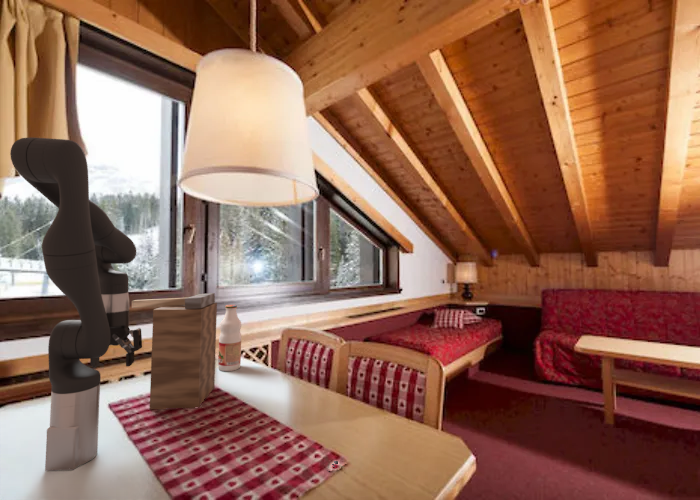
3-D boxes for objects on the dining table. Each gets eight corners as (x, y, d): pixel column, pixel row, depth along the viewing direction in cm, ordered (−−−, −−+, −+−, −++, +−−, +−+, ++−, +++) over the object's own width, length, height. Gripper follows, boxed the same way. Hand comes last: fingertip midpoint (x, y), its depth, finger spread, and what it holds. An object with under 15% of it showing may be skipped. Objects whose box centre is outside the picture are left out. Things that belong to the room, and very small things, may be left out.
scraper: (200, 308, 112) (200, 297, 112) (120, 312, 110) (120, 301, 110) (214, 302, 128) (214, 293, 128) (145, 305, 126) (144, 296, 126)
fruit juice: (235, 372, 146) (237, 307, 147) (214, 371, 147) (216, 306, 148) (243, 365, 155) (245, 304, 156) (224, 364, 156) (225, 303, 157)
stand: (198, 408, 110) (201, 309, 111) (149, 409, 109) (153, 309, 110) (214, 387, 128) (216, 302, 129) (172, 388, 127) (175, 302, 128)
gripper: (76, 312, 91) (76, 372, 91) (134, 310, 93) (134, 369, 93) (93, 307, 98) (92, 363, 98) (146, 306, 101) (145, 360, 101)
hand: (112, 366), depth 96 cm, fingers open, 8 cm apart
